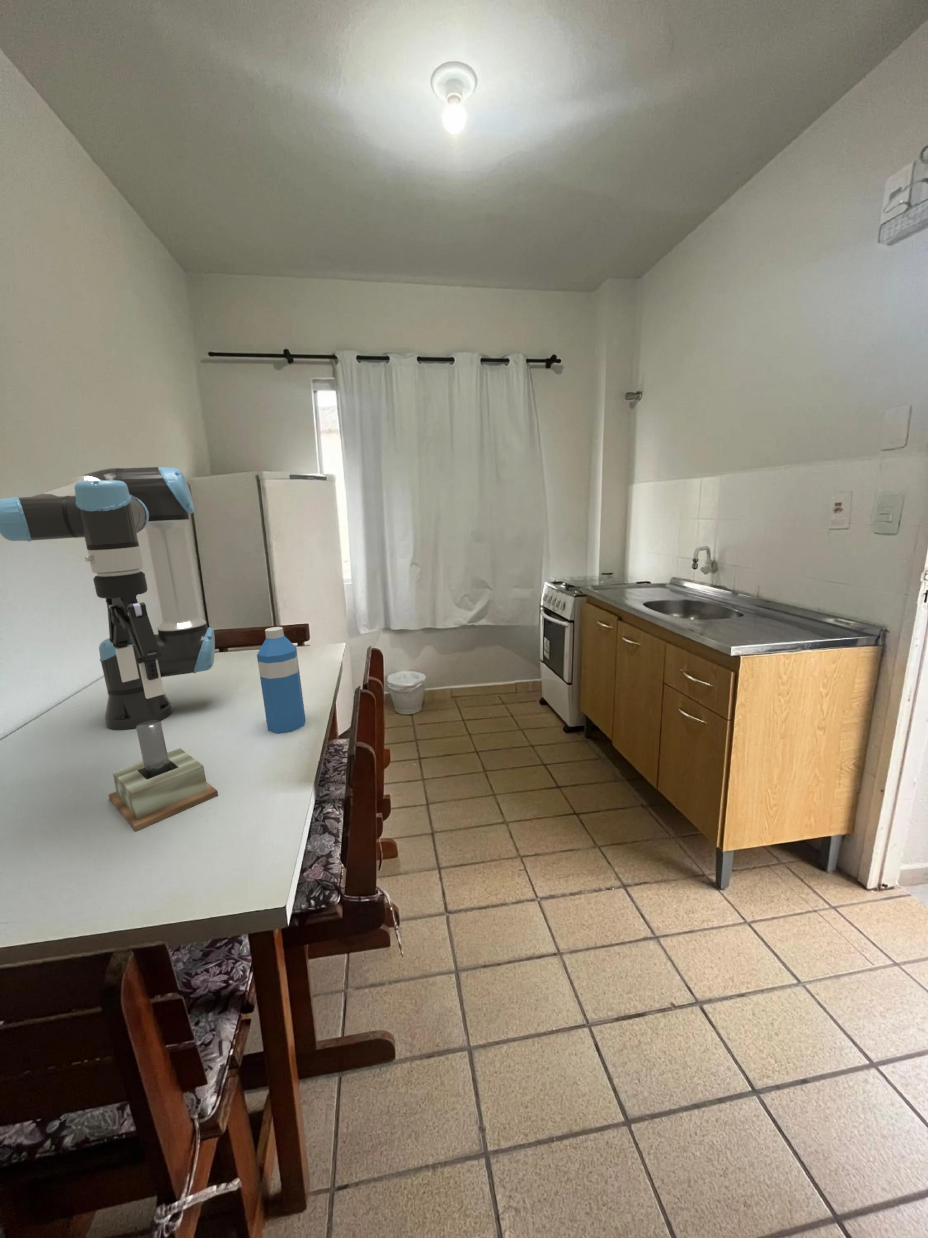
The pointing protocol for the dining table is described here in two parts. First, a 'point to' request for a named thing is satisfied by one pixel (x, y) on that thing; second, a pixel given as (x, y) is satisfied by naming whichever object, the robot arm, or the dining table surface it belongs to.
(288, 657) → the water bottle
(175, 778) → the socket
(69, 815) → the dining table surface
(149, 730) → the peg
